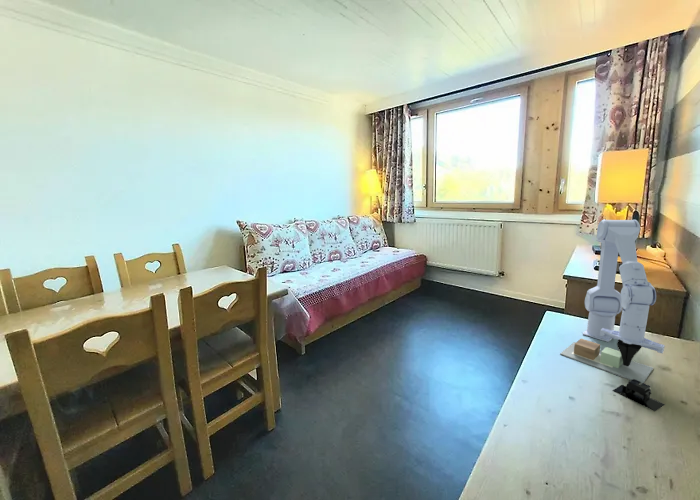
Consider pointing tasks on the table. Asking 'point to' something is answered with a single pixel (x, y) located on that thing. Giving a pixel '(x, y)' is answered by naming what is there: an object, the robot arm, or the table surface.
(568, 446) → the table surface
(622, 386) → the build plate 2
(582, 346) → the walnut block
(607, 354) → the green block
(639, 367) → the plate
